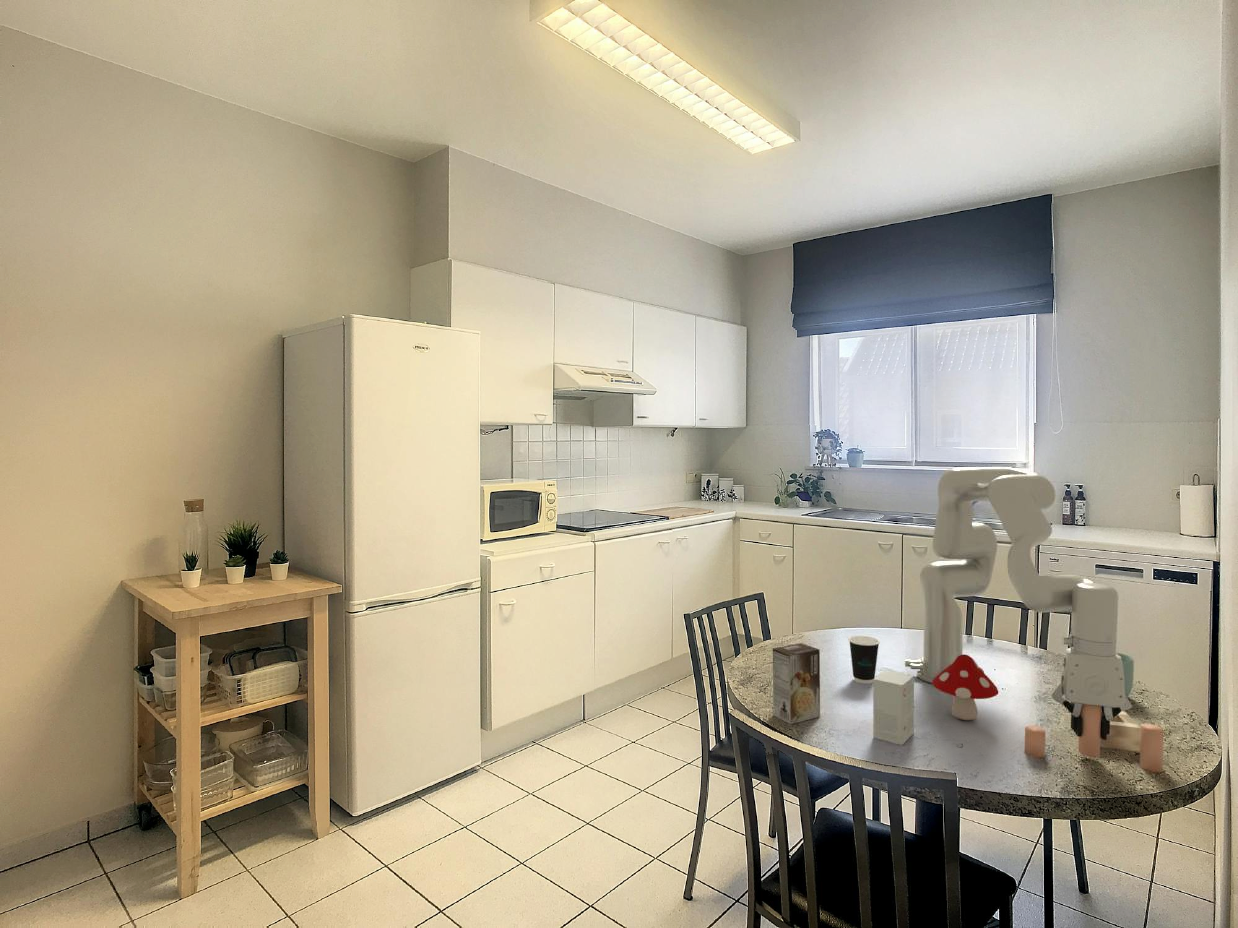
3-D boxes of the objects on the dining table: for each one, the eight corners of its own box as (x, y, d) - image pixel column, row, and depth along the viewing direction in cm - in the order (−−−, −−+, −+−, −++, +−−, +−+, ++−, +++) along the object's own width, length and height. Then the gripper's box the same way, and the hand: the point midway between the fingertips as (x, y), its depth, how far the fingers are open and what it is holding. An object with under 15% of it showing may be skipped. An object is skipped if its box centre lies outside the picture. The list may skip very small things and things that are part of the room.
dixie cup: (862, 687, 179) (863, 645, 179) (841, 677, 187) (842, 637, 186) (886, 682, 183) (886, 641, 182) (864, 673, 190) (865, 634, 189)
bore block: (1088, 745, 145) (1089, 722, 145) (1076, 728, 153) (1076, 706, 153) (1139, 751, 142) (1140, 727, 142) (1124, 733, 150) (1124, 711, 150)
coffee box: (801, 707, 166) (801, 642, 166) (820, 717, 161) (821, 649, 160) (771, 715, 162) (772, 647, 161) (790, 725, 156) (790, 655, 156)
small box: (885, 725, 156) (885, 668, 155) (914, 733, 152) (915, 674, 151) (872, 737, 150) (872, 678, 149) (902, 745, 145) (902, 685, 145)
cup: (1139, 702, 168) (1140, 661, 168) (1103, 700, 170) (1104, 660, 169) (1123, 690, 176) (1123, 652, 175) (1089, 688, 177) (1089, 650, 177)
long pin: (1081, 755, 138) (1083, 696, 137) (1076, 747, 141) (1078, 690, 141) (1102, 758, 137) (1104, 699, 136) (1096, 750, 140) (1098, 692, 139)
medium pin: (1144, 770, 134) (1144, 730, 134) (1136, 762, 137) (1137, 722, 137) (1166, 773, 133) (1166, 732, 133) (1158, 764, 136) (1158, 724, 136)
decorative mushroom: (970, 704, 168) (971, 643, 167) (1014, 727, 154) (1015, 661, 154) (919, 709, 165) (919, 647, 164) (959, 733, 151) (959, 666, 151)
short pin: (1026, 755, 141) (1027, 731, 140) (1022, 748, 144) (1023, 724, 144) (1047, 758, 139) (1047, 734, 139) (1042, 750, 143) (1043, 727, 143)
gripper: (1050, 647, 137) (1047, 737, 138) (1150, 656, 131) (1146, 750, 132) (1040, 636, 144) (1038, 722, 145) (1135, 644, 138) (1131, 733, 140)
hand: (1089, 734), depth 139 cm, fingers closed on long pin, 3 cm apart
